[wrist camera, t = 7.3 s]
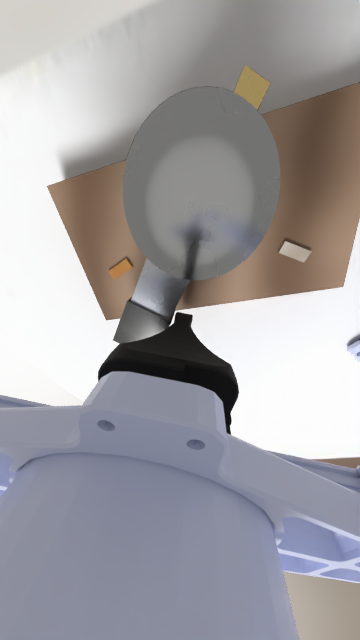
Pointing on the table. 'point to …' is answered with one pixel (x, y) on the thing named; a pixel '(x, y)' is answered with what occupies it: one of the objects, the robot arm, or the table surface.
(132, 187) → the silver saucepan
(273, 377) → the table surface
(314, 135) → the mounting board
